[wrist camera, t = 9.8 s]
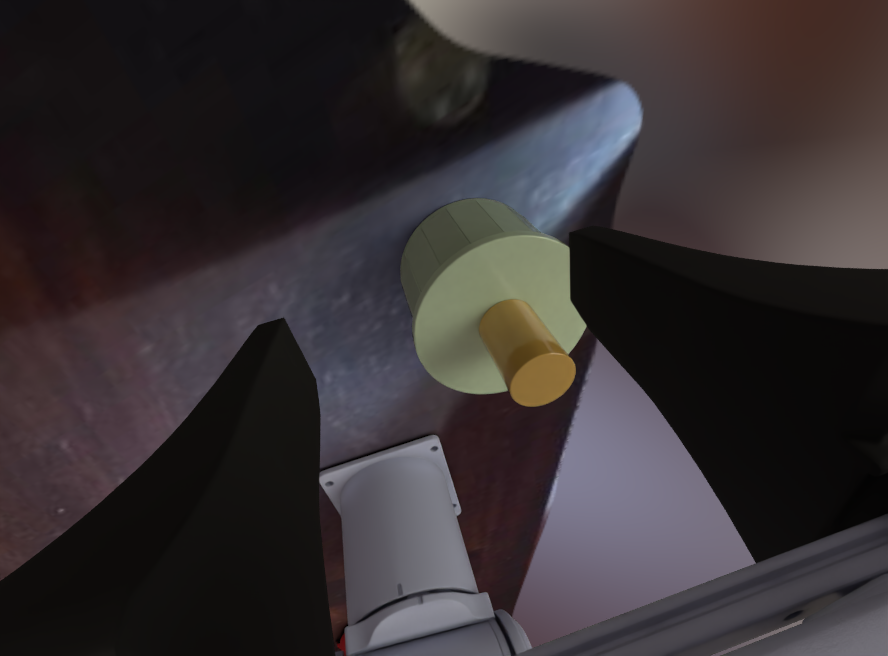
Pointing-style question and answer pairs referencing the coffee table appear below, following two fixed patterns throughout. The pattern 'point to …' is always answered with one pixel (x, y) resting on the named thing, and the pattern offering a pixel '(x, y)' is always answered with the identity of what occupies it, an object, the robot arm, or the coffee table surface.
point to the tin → (452, 238)
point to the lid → (501, 318)
